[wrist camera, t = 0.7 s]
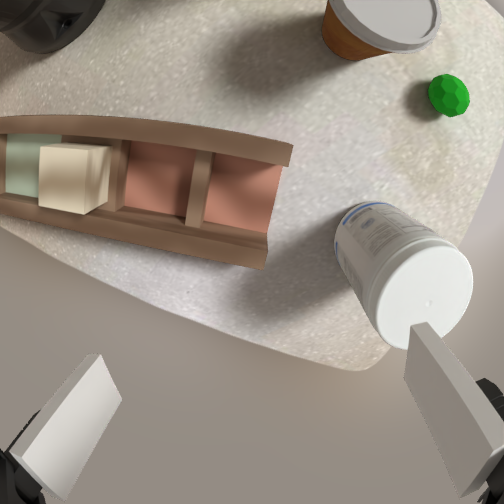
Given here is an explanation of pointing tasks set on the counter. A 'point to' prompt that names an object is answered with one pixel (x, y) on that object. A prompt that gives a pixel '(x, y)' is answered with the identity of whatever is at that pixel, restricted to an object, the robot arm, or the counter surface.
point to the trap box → (155, 183)
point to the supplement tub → (402, 271)
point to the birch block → (74, 176)
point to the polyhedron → (448, 95)
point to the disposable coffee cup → (379, 26)
